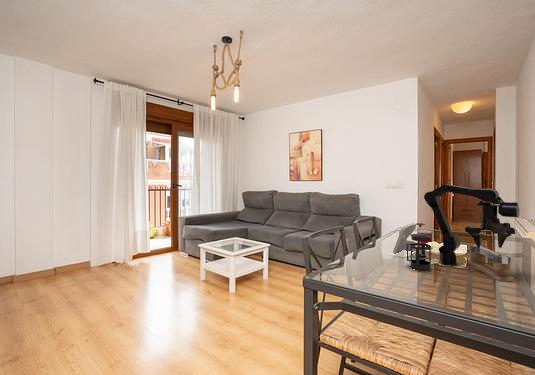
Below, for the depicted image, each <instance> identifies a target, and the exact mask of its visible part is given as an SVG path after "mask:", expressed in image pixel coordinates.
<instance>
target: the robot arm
mask: <svg viewBox="0 0 535 375" xmlns="http://www.w3.org/2000/svg"><path fill="white" fill-rule="evenodd" d="M447 193H452V194H458V195H463V196H469V197H473V198H476V199H477V200H480V201H479V202H478V203H477V204H476V205H477V206H481V216H480V217H479V218H480V220H481V224H480V225H479V226H480V227H478V226H476V225H467V226H465V228H464V230H465V231H464V232H465V233H467V234H469V235H470V236H471V238H472V239H473V241H474V243H475V245H477V247H478V248H480V246H481V236H482V234H481V233H492V234H495V235H497V244H498V249H502V247H503V245H504V244H505V242H506V240H507V238H508V237H511V236H513V235H516V229H515V228H514V227H512V226H511V223H509V222H503V223H502V222H500V218H499V217H498V215H499V216H500V215H501V216H500V217H505V218H517V219H518V218H519V217H520V207H519V202H517V201H516V202H508V201H504V200H503V199H502V198H501V196H500V194H499V191H498V190H497V189H494V188H473V187H466V186H460V185H456V184H455V185H453V184H449V183H444V184H442V185H441V186H439V187H437V188H435V189H433V190H430V191H426V192H425V193H424V195H423V199H424V201H425V203H426V204H427V205H428V207H430V208H431V210H432V212H433V215H434V217H435V220H436V223H437V225H438V227H439V229H440V231H441V235H442V236H441V238H442V239H441V240H442V245H441V246H439V247H438V249H437V250H438V251H439V260H440V261H441V263H440V264H442V265H443V266H457V265H458V264H457V254H456V251H457V249H458V248H460V246H461V242H462V241H461V239H460V236H459V234H457V233H454V232H453V231H452V229H451V226H450V224H449V222H448V219H447V216H446V214H445V212H444V210H443V207H442V199H441V198H442V196H444V195H445V194H447Z"/></svg>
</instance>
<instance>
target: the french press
mask: <svg viewBox="0 0 535 375" xmlns="http://www.w3.org/2000/svg"><path fill="white" fill-rule="evenodd" d="M415 224H416V226H418V227H419V230H420V234H418V233H411V235H410V236H409V237H411V241H413V242H415V243H412V244H409V243H408V244H407V245H406V246H407V257H406V261H407V262H410V266H409V268H410V267H411V268H412V269H411V268H410V269H411V270H413V269H415V270H414V271H416V270H418V271H417V272H421V271H428V272H431V271H432V264H431V263H432V262H431V260H432V254H431V253H432V249H431V246H430V245H428V244H424V243H421V242H424V241H426V240H427V239H429V238H430V237H431V236H430V235H426V234H421V230H422V226H425V223H423V222H417V223H415ZM418 241H420V243H418ZM408 245H410V247H411V255H410V259H409V256H408ZM418 246H420V247H418ZM425 246H426V247H425ZM412 248H413V249H415V251H416V253H414V254H412ZM426 251H428V254H426ZM428 260H429V261H428ZM430 270H431V271H430Z"/></svg>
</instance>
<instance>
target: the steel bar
mask: <svg viewBox="0 0 535 375" xmlns="http://www.w3.org/2000/svg"><path fill="white" fill-rule="evenodd" d="M472 246H474V247H475V251H476V252H478V253H480V254H482V255H484V256H485V258H489V259H491V260H493V256H497V257H499V263H501V264H508V257H509V256H508V257H505V256H506V255H503V254H501V253H498V252H495V251H494V250H491V249H489V248H486V247H485V246H484V247H485V248H484V247H482V246H483V245H480V248H478V247H477V245H476V244H473V245H472Z"/></svg>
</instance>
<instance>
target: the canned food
mask: <svg viewBox="0 0 535 375" xmlns="http://www.w3.org/2000/svg"><path fill="white" fill-rule="evenodd" d="M417 234H420V229H419V230H417ZM421 234H426V235H430V236H431V237H430V238H429V239H427V240H426V241H424V242H421V243H424V244H426V243H428V242H432V243H433V231H431V230H428V229H427V230H425V229H423V230H422V229H421ZM417 243H420V241H417ZM417 247H420V246H417Z"/></svg>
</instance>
